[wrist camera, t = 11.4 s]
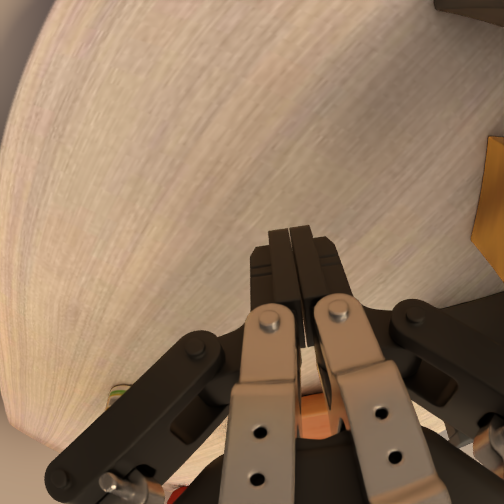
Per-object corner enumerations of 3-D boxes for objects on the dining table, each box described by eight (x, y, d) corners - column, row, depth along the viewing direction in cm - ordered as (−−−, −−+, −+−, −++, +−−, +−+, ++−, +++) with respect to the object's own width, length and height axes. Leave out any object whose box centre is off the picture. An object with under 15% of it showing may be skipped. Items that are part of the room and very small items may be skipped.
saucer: (289, 448, 35) (290, 468, 32) (209, 411, 27) (207, 439, 25) (407, 410, 30) (412, 432, 27) (371, 357, 22) (380, 389, 19)
